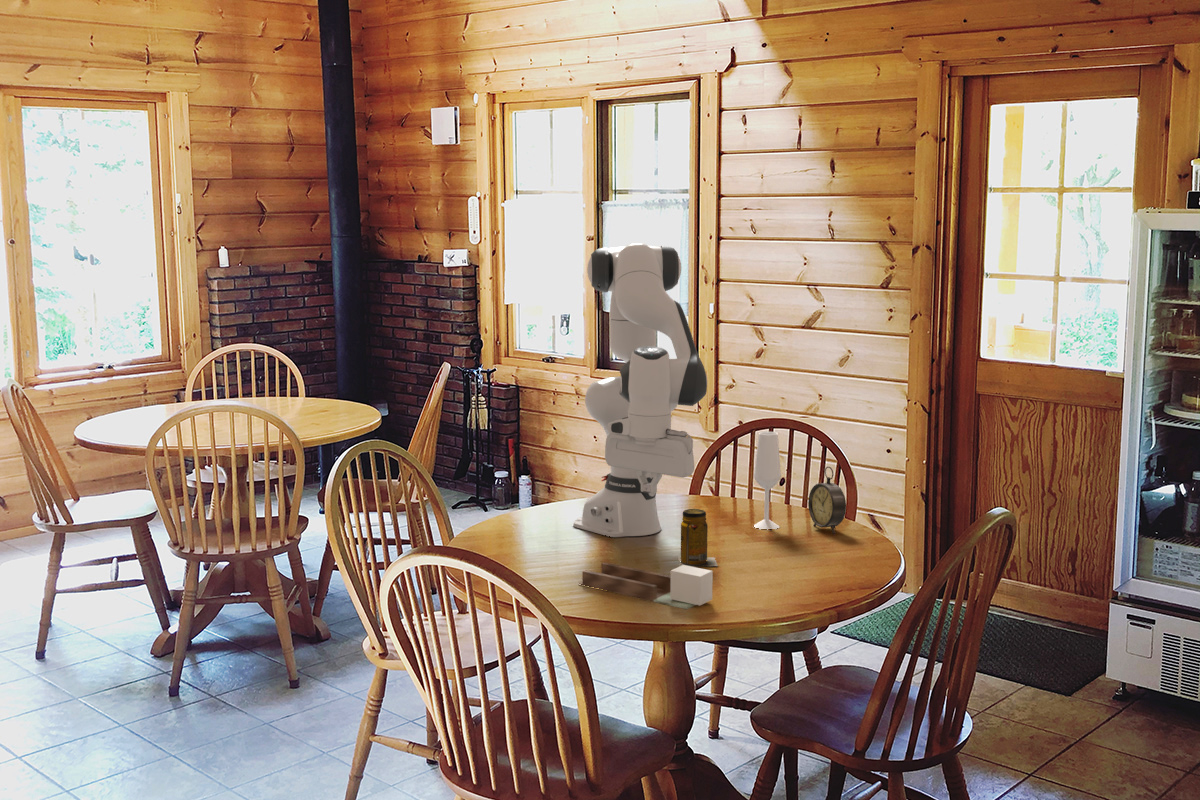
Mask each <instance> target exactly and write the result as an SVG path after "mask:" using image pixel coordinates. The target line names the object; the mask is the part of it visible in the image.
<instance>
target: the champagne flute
mask: <svg viewBox="0 0 1200 800" xmlns="http://www.w3.org/2000/svg"><path fill="white" fill-rule="evenodd" d="M779 446H780V444H779V433H778V432H777V431H776V432H775V431H760V432H758V438H757V447H756V454H755V465H754V474H753V478H754V480H755V481H756V483H757V484H758V485H759V486H760V487H761V488H762V489H764V505H763V506H764V507H763V508H764V509H763V511H764V515H763V516H764V517H763V519H762V520H760V521H758V522H756V523H755V524H753V525H754V527H755V528H754V527H753V528H754V529H756V528H759V529H758V530H761V529H767V530H766V531H769V530H768V529H775V530H778V529H780V525H779V524H777V523H775V522H774V521H772V520H771V519H770V490H771V489H772V488H774V487H775V486H776V485H777V484H778V483H779V482H780V480H781V477H782V473H781V460H780V458H781V457H780V447H779ZM777 528H778V529H777Z"/></svg>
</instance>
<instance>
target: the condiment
mask: <svg viewBox="0 0 1200 800" xmlns="http://www.w3.org/2000/svg"><path fill="white" fill-rule="evenodd" d="M706 516H707V513H706V511H705V510H703V509H700V508H688V509H685V510H683V511H682V521H681V523H680V556H678V557H677V559H678V563H679V567H680V566H682V565H686V566H691V567H696V568H699V567H718V566H719V565H718V563H717V560H715V559H716V557H711V556H710V557H708V533H709V531H708V530H709V528H708V526H709V525H708V522H707V517H706ZM706 560H707V561H706ZM680 561H681V562H680Z"/></svg>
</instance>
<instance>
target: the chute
mask: <svg viewBox="0 0 1200 800" xmlns="http://www.w3.org/2000/svg"><path fill="white" fill-rule="evenodd" d="M581 579H582V581H580V582H578V585H579V584H581V585H585V586H589V587H594V588H599V589H603V590H607V591H611V592H610V593H612V592H614V593H613V594H616V593H618V594H617V595H621V594H622V595H621V596H625V595H626V596H627V597H630V598H634V599H638V598H639V600H642V601H643V600H644V601H648V602H653V603H656V604H657V603H658V604H661V605H666V606H670V607H675V608H680V609H684V610H689V609H691V608H693V607H695V606H696V605H695V604H690V603H686V602H681V601H677V600H672V599H670V586H671V575H668V574H664V573H658V572H654V571H649V570H644V569H639V568H634V567H630V566H626V565H625V566H624V565H620V564H615V563H611V562H605V561H604V562H602V563H601V572H597V571H596V572H595V571H592V570H587V569H585V570H583V571H582V578H581ZM585 586H584V587H585ZM589 587H588V588H589ZM594 588H593V589H594ZM603 590H602V591H603ZM607 591H606V592H607Z"/></svg>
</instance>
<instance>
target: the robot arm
mask: <svg viewBox="0 0 1200 800" xmlns="http://www.w3.org/2000/svg"><path fill="white" fill-rule="evenodd" d="M586 268H587V269H586V270H587V271H586V272H587V277H588V280H589V282H590V284H591V287H592V288H593V289H594V290H595V291H598V292H603V293H608V292H611V296H610V304H609V305H610V306H609V307H610V308H609V347H610V351H611V352H612V353H613V355H614V356H615V357H617V358H618V359H620V360H622V361H623V362H624V364H623V365H622V366H621V367H620V368H619V373H620V376H618V375H617V376H610V377H605V378H603V379H599V380H597V381H594V382H592V383H590V385H588V388H587V390H586V391H585V392H586V393H585V397H584V398H585V399H584V403H585V408H586V410H587V412H588V414H589V415H590V417H592V418H593V419H594V420H595V421H596V422H597V423H599V425H600V426H601V427H602V428H603V430H604V432H605V434H606V439H605V445H604V447H605V448H604V460H605V462H606V464H607V465H608V466H610V472H609V473H607V474H606V475H603V476H601V478H602V479H601V482H605V483H604V487H603V488H602V489H600V490H599V491H598V492H596V493H595V494H594V495H592V496H591V497H589V499H587V500H586V501H585V503H584V506H583V508H582V515H581V517H579V518H577V519H575V520H574V521H573V526H572V527H574V528H577V529H582V530H584V531H588V532H591V533H596V534H599V535H603V536H605V535H606V537H609V536H610V537H611V538H621V537H641V536H648V535H653V534H657V533H658V532H661V530H662V526H661V524H660V521H659V515H658V509H657V499H656V498H657V492H658V484H659V482H660V480H661V479H662V477H663V476H665V475H666V476H670V477H678V478H688V477H690V476H692V475H693V473H694V472H695V458H694V456H695V455H694V450H693V449H694V440H693V438H692V436H691V435H690V434H689V433H688V432H687V431H685V430H681V431H679V430H676V429H672V412H673V411H674V410H675V409H676V408H677V406H687V407H688V406H689V407H693V406H694V405H695V406H696V405H697V403H699V402H700V401H701V400H702V399H704V397H705V396H706V395H707V391H708V375H707V372H706V370H705V366H704V364H703V362H702V359H701V358H700V356H699V354H698V351H697V347H696V344H695V341H694V338H693V335H692V332H691V329H690V325H689V323H688V319H687V317H686V314H685V312H684V309H683V308H682V305H681V304H680V302H678V301H676V300H674V299H673V298H672V297H670V295H669V294H668V293H667V291H670V290H672V289H674V288H675V287H676V286H677V285H678V284H679V280H680V278H681V274H682V263H681V259H680V257H679V254H678V251H677V250H676V249H675V247H671V246H667V245H661V246H656V245H647V244H645V243H640V242H636V243H630V244H629V245H626V246H615V247H609V248H608V247H607V246H606V247H601V248H600V247H599V248H598V249H595V250H594V251H593V252H592V253H591V254H590V257H589V260H588V263H587V267H586ZM656 331H657V332H660V333H662V334H664V335H665V336H667V337H668V338H669V339H670V340H671V344H672V346H673V350H674V352H675V356H676V358H670V355H669V352H668V351H667V350H666V349H664V348H662V347H659V346H657V343H656V341H657V340H656ZM610 537H609V538H610Z"/></svg>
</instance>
